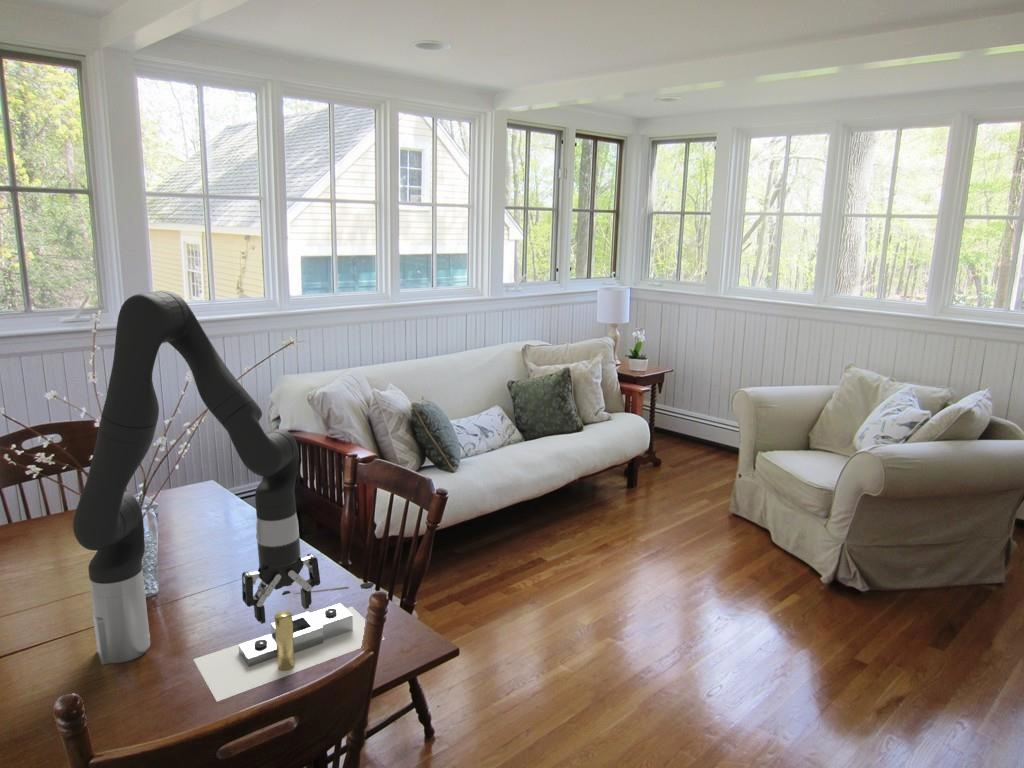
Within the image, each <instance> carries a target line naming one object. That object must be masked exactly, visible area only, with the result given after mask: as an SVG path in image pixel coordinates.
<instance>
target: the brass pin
mask: <svg viewBox="0 0 1024 768" xmlns="http://www.w3.org/2000/svg"><path fill="white" fill-rule="evenodd" d="M292 617H293V613H292V612H291V611H289V610H282V611H279V612H277V613H275V614H274V622H275V631H276V647H277V662H278V669H279V670H281V671H288V670H291V669H293V668H294V666H295V657H294V641H293V624H292Z"/></svg>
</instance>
